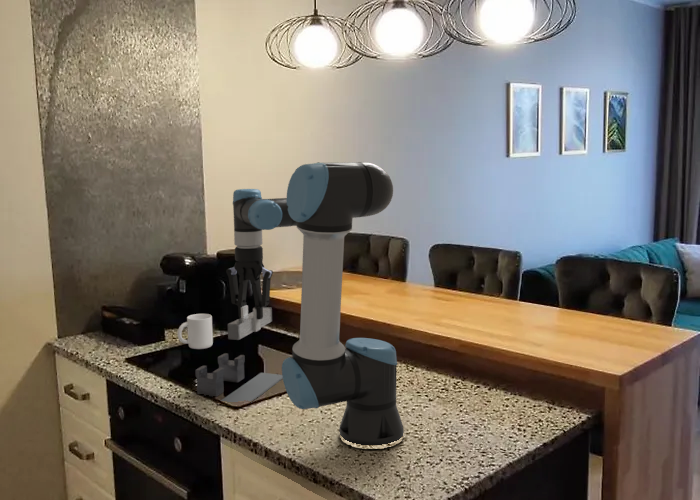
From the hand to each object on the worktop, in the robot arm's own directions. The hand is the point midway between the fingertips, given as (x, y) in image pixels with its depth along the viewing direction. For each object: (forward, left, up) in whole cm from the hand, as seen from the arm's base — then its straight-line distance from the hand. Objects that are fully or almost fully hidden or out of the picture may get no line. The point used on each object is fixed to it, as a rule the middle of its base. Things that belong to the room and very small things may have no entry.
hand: (251, 329), depth 191 cm
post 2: (+6, +10, -17) cm, 21 cm away
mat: (0, 0, -17) cm, 17 cm away
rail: (0, 0, 0) cm, 0 cm away
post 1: (-6, +10, -17) cm, 21 cm away
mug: (+31, +38, -18) cm, 52 cm away
